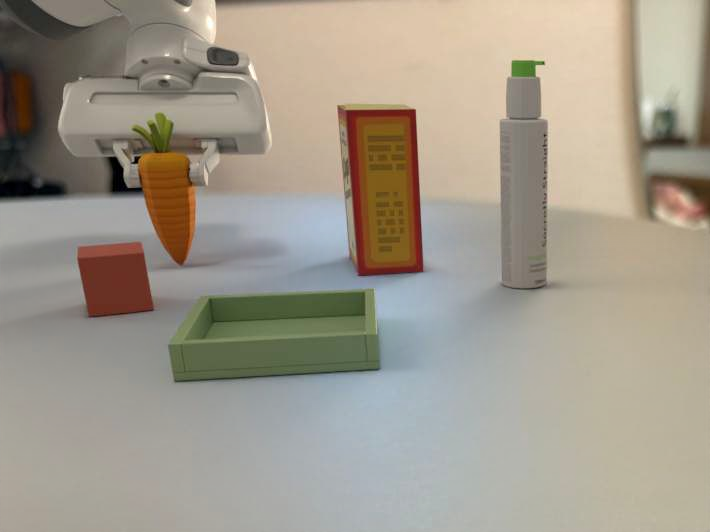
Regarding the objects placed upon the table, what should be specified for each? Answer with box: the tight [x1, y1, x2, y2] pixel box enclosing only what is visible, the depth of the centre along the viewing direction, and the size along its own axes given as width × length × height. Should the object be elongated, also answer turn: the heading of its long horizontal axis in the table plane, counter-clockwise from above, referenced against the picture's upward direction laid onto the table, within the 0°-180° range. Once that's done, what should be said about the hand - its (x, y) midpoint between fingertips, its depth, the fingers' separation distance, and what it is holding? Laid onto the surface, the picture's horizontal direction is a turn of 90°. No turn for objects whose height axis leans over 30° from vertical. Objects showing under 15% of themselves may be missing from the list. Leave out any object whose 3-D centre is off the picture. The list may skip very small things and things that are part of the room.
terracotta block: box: [76, 241, 155, 318], centre depth 73 cm, size 5×5×5 cm
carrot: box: [132, 113, 197, 266], centre depth 86 cm, size 5×5×15 cm
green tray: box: [167, 288, 380, 382], centre depth 63 cm, size 14×13×3 cm
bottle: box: [499, 59, 549, 290], centre depth 78 cm, size 4×4×20 cm
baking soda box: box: [336, 102, 424, 276], centre depth 87 cm, size 10×6×16 cm
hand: (166, 183), depth 85 cm, fingers closed on carrot, 5 cm apart
